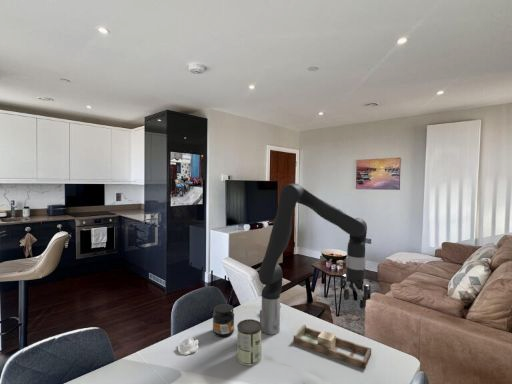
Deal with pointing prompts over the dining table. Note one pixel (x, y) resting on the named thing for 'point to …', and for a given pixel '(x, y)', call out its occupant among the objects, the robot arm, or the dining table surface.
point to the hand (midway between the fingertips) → (354, 303)
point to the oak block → (327, 339)
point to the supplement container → (223, 320)
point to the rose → (188, 346)
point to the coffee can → (249, 342)
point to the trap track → (310, 341)
